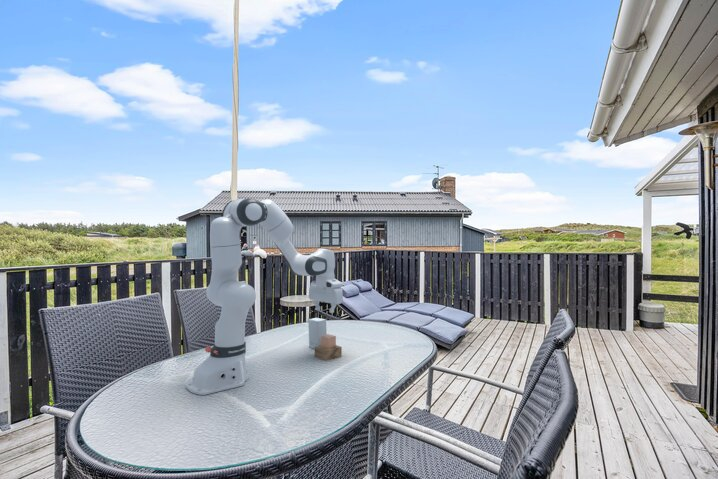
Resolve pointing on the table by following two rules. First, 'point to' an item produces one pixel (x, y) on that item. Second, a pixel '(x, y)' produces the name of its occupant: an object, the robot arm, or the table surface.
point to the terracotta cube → (328, 341)
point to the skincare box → (316, 331)
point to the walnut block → (328, 352)
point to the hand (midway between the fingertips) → (324, 311)
